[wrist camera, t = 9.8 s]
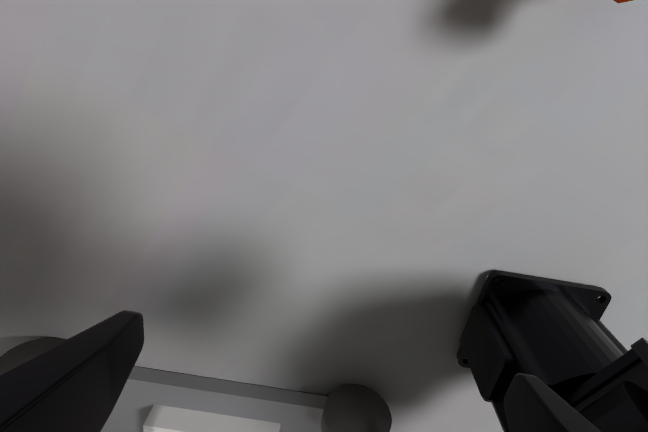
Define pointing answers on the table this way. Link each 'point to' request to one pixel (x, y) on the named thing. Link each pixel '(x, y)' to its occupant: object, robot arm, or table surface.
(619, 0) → the toy boat
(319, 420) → the chassis
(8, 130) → the table surface
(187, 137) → the table surface
